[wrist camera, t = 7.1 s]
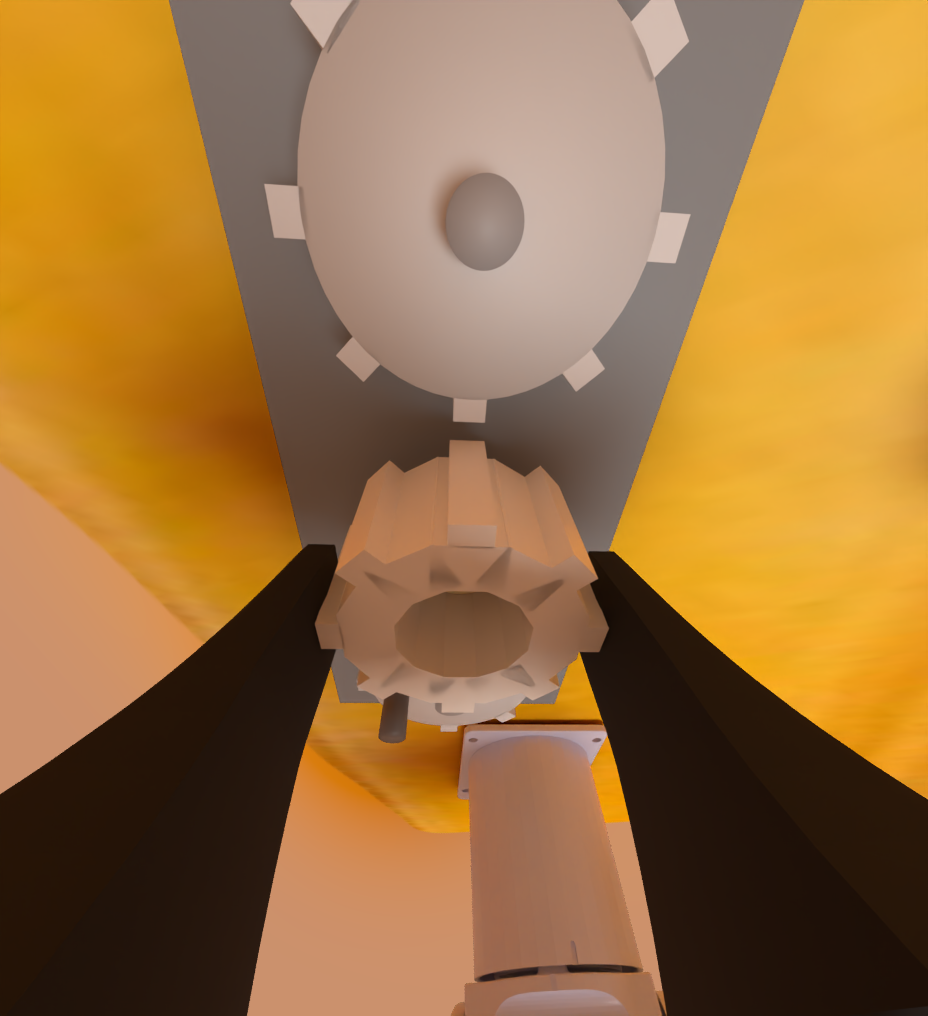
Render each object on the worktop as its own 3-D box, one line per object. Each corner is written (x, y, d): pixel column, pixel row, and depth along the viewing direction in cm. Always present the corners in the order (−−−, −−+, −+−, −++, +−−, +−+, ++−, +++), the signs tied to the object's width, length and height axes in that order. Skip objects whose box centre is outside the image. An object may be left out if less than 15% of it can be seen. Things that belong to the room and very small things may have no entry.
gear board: (549, 679, 19) (572, 784, 16) (346, 678, 19) (319, 786, 15) (777, -36, 7) (1176, -372, 3) (180, -101, 6) (-219, -593, 3)
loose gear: (548, 612, 12) (573, 713, 10) (362, 609, 12) (337, 711, 10) (593, 445, 9) (650, 529, 6) (337, 435, 9) (287, 520, 6)
